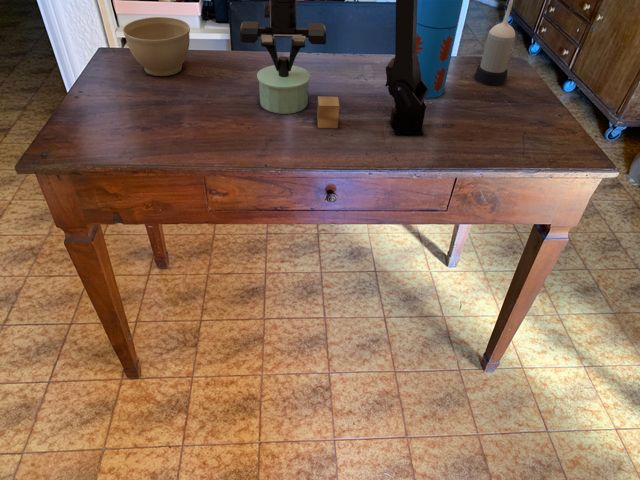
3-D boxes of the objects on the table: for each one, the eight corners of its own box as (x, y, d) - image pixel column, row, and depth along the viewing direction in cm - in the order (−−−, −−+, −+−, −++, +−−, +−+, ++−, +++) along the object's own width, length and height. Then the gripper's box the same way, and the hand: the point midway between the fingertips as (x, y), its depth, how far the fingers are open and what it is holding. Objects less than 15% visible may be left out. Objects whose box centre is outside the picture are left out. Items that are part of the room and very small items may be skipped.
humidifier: (502, 74, 140) (530, -24, 123) (507, 86, 134) (538, -15, 117) (472, 71, 140) (497, -27, 124) (476, 84, 134) (502, -18, 118)
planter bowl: (120, 77, 129) (110, 34, 121) (150, 54, 140) (143, 13, 133) (178, 86, 126) (171, 42, 119) (204, 62, 138) (199, 21, 131)
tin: (306, 92, 126) (307, 67, 122) (308, 114, 118) (308, 88, 114) (261, 91, 126) (260, 66, 121) (259, 113, 117) (258, 87, 113)
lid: (309, 69, 123) (309, 48, 120) (310, 91, 114) (311, 69, 110) (258, 68, 122) (257, 47, 119) (255, 90, 113) (254, 68, 110)
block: (336, 118, 117) (337, 96, 113) (337, 128, 113) (339, 105, 110) (317, 118, 116) (317, 96, 113) (317, 128, 113) (318, 105, 109)
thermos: (442, 82, 134) (463, -20, 118) (445, 99, 126) (469, -7, 110) (401, 78, 135) (417, -24, 118) (402, 96, 127) (419, -11, 110)
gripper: (325, -11, 113) (322, 57, 123) (241, -14, 112) (245, 56, 122) (327, 4, 104) (324, 76, 115) (237, 2, 103) (242, 75, 114)
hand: (283, 70), depth 116 cm, fingers closed on lid, 2 cm apart
